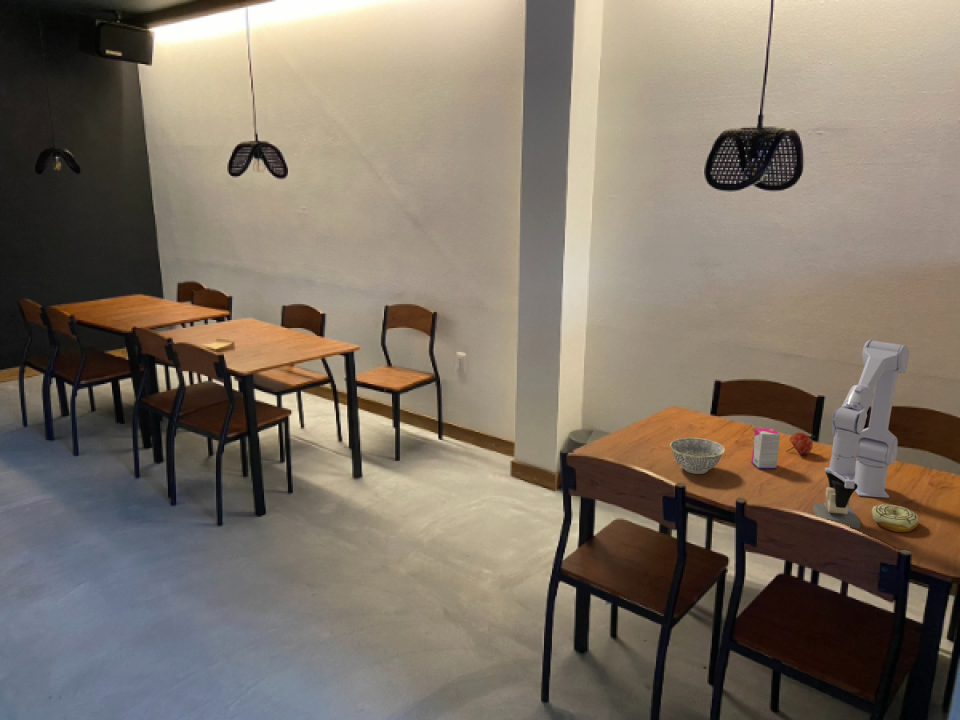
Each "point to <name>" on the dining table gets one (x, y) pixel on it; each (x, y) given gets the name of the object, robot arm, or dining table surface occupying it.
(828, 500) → the birch block
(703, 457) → the bowl
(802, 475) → the dining table surface
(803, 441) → the red stemmed fruit
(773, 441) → the supplement box
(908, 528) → the decorated donut
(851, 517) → the slate base
